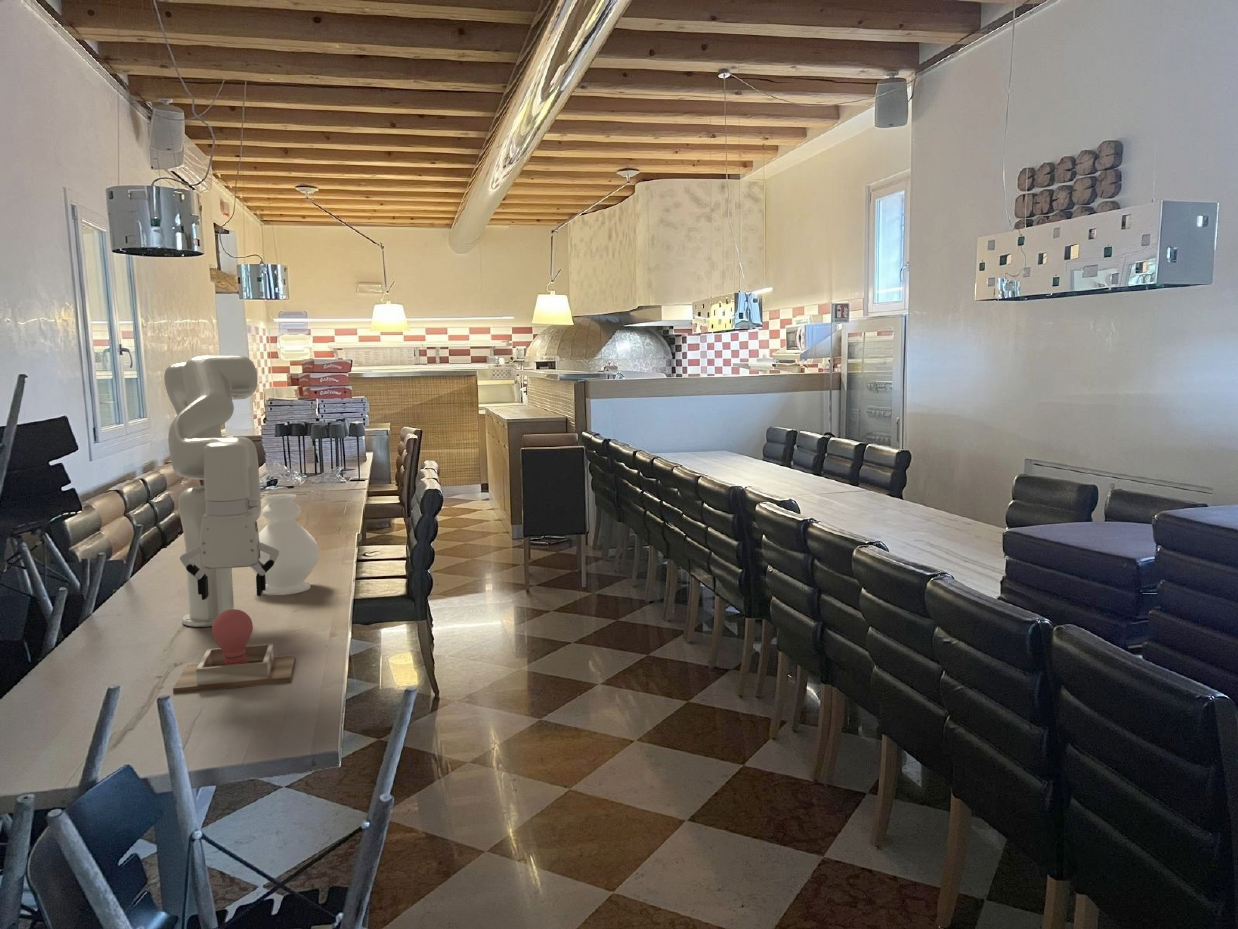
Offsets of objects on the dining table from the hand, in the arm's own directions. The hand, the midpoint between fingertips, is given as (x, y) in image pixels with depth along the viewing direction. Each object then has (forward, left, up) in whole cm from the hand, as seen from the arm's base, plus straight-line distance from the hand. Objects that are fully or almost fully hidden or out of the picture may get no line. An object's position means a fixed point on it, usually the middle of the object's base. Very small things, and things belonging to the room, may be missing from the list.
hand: (232, 596), depth 168 cm
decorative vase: (-67, +3, -16) cm, 68 cm away
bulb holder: (0, 0, -16) cm, 16 cm away
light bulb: (0, 0, -15) cm, 15 cm away
